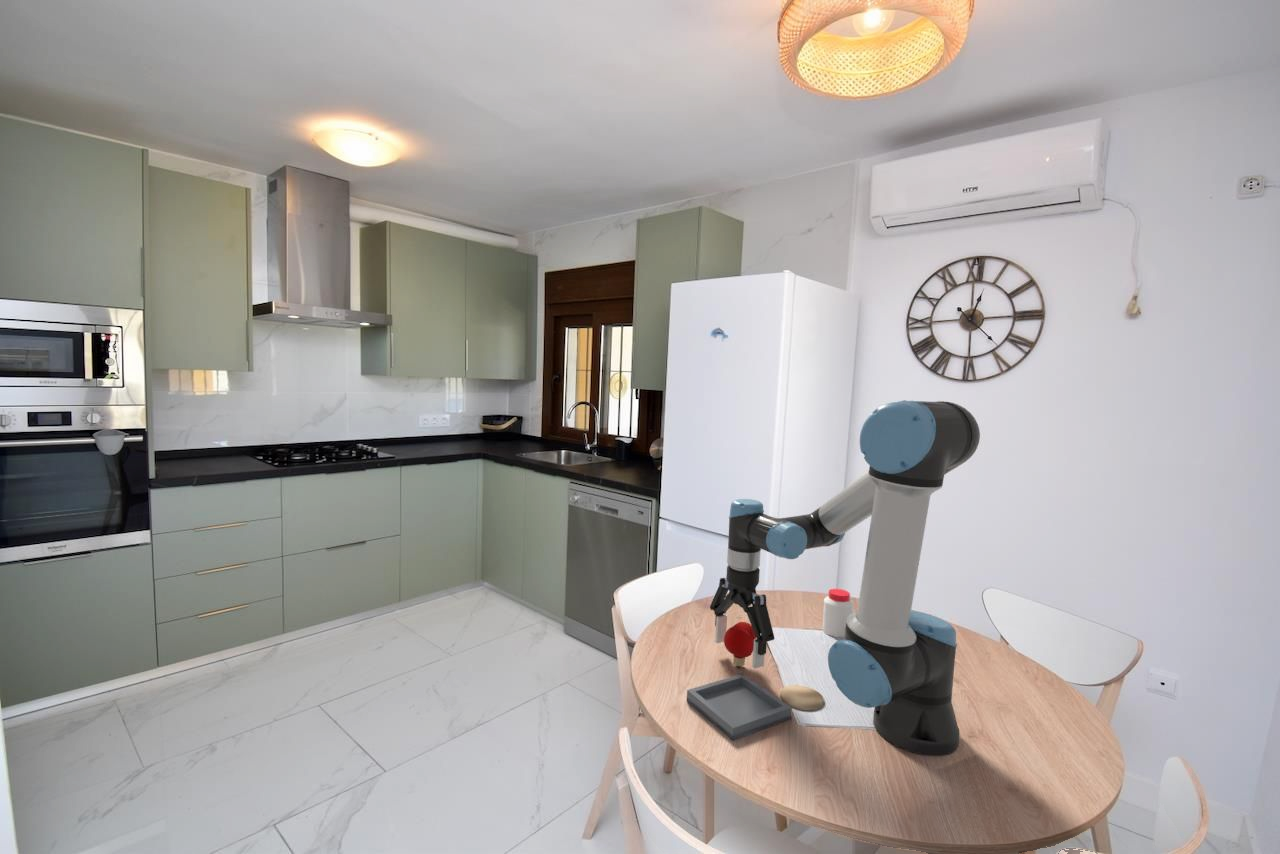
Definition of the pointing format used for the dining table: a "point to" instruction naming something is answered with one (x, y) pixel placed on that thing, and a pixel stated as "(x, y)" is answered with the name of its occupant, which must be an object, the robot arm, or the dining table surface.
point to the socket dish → (738, 706)
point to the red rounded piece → (740, 642)
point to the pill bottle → (836, 612)
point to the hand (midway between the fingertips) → (738, 653)
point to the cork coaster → (801, 697)
